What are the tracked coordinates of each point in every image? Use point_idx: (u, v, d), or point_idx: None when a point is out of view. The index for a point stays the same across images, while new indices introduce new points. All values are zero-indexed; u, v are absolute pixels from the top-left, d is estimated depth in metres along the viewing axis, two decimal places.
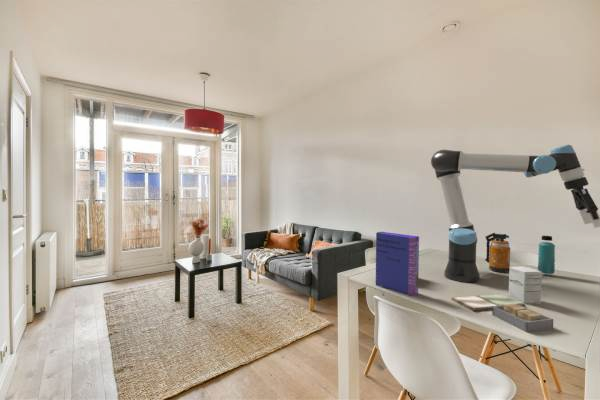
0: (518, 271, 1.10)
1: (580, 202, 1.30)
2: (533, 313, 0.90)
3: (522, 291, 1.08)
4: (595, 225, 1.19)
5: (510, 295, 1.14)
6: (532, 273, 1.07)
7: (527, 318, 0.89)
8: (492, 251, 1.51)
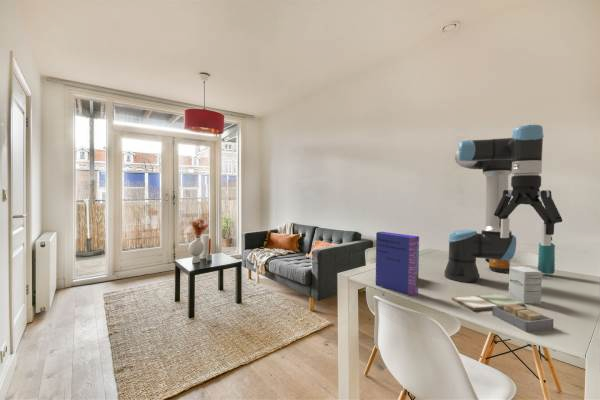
0: (518, 271, 1.10)
1: None
2: (533, 313, 0.90)
3: (522, 291, 1.08)
4: None
5: (510, 295, 1.14)
6: (532, 273, 1.07)
7: (527, 318, 0.89)
8: None
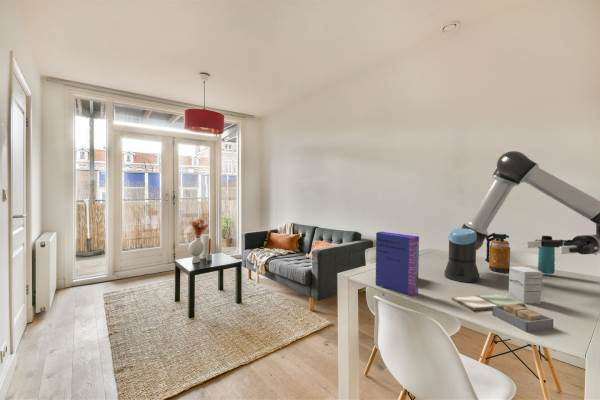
0: (518, 271, 1.10)
1: (553, 243, 1.18)
2: (533, 313, 0.90)
3: (522, 291, 1.08)
4: (563, 247, 1.05)
5: (510, 295, 1.14)
6: (532, 273, 1.07)
7: (527, 318, 0.89)
8: (492, 251, 1.51)
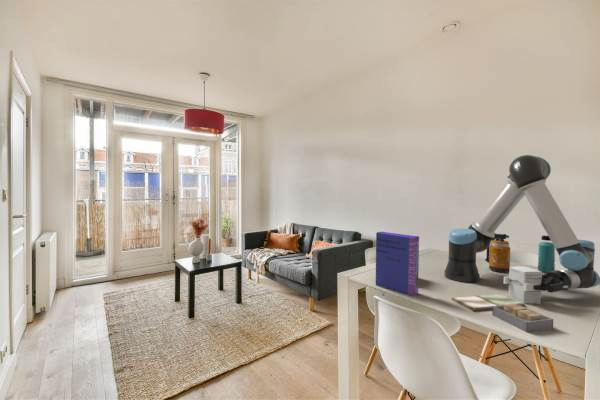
0: (518, 271, 1.10)
1: None
2: (533, 313, 0.90)
3: (522, 291, 1.08)
4: (528, 285, 1.06)
5: (510, 295, 1.14)
6: (532, 273, 1.07)
7: (527, 318, 0.89)
8: (492, 251, 1.51)
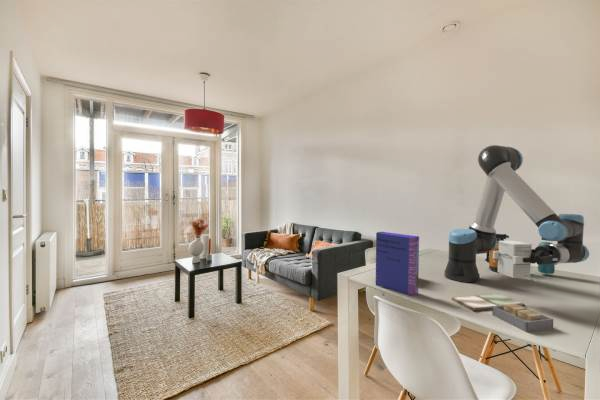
0: (507, 244, 1.07)
1: None
2: (533, 313, 0.90)
3: (511, 264, 1.05)
4: (517, 257, 1.03)
5: (499, 270, 1.11)
6: (522, 245, 1.05)
7: (527, 318, 0.89)
8: (492, 251, 1.51)
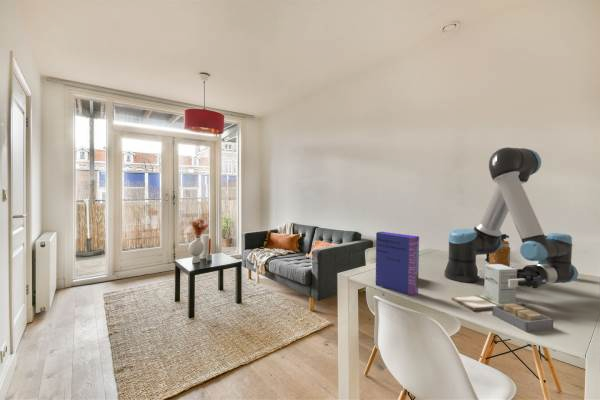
0: (493, 269, 1.07)
1: None
2: (533, 313, 0.90)
3: (497, 289, 1.06)
4: (512, 281, 1.01)
5: (486, 293, 1.11)
6: (507, 271, 1.05)
7: (527, 318, 0.89)
8: None
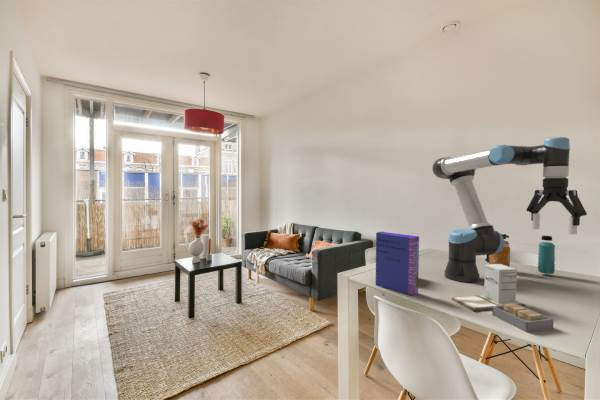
0: (493, 269, 1.07)
1: (542, 205, 1.17)
2: (533, 313, 0.90)
3: (497, 289, 1.06)
4: (572, 232, 1.06)
5: (486, 293, 1.11)
6: (507, 271, 1.05)
7: (527, 318, 0.89)
8: None
